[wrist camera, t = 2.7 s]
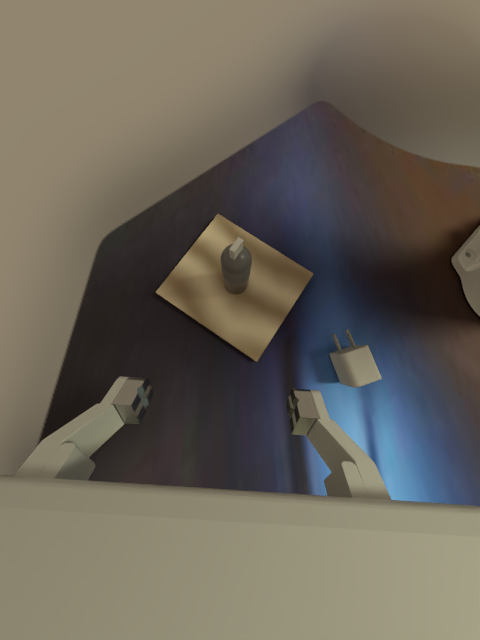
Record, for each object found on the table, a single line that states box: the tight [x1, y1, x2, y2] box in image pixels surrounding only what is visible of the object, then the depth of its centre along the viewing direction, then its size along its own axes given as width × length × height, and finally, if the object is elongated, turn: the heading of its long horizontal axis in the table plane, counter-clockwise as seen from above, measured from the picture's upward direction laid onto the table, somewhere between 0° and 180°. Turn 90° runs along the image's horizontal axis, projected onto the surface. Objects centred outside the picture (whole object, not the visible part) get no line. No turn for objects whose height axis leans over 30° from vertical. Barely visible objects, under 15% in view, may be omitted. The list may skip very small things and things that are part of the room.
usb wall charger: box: [329, 330, 381, 387], centre depth 26 cm, size 4×7×4 cm, turn 18°
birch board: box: [156, 214, 313, 362], centre depth 29 cm, size 16×18×1 cm
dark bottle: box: [220, 237, 252, 294], centre depth 23 cm, size 4×4×10 cm
